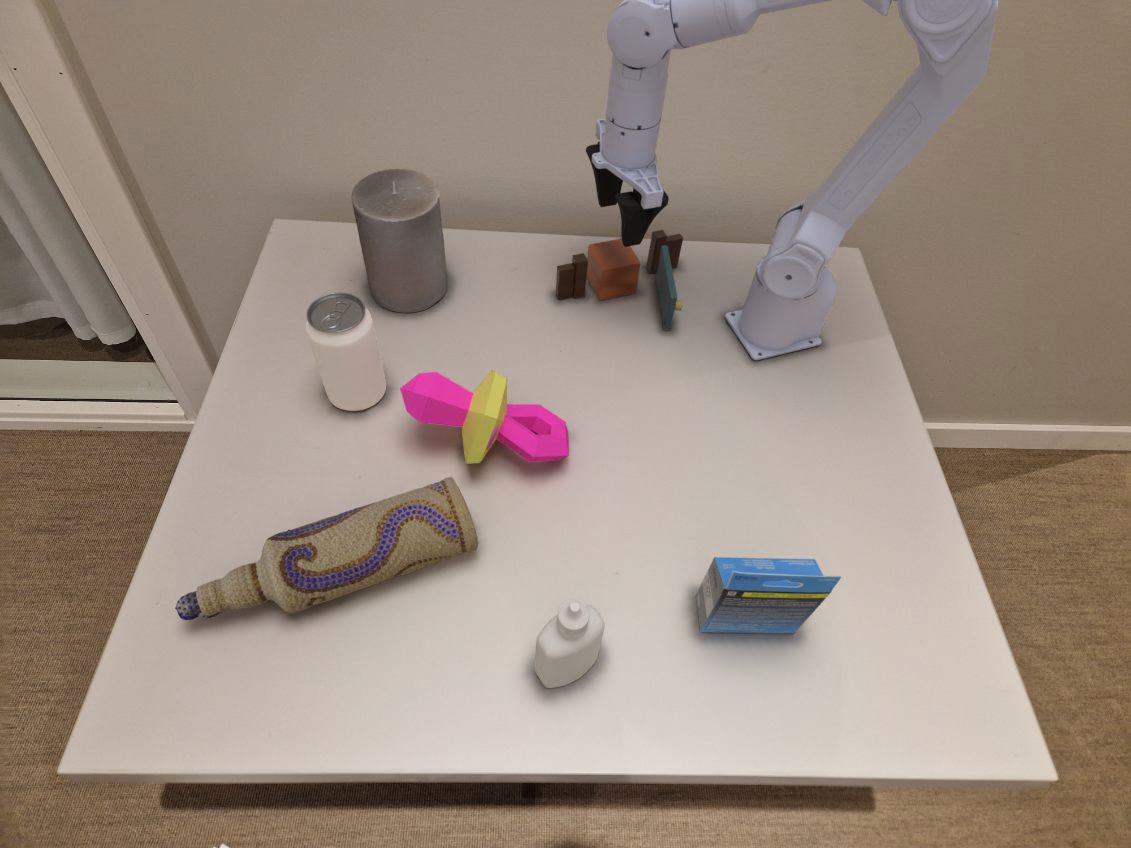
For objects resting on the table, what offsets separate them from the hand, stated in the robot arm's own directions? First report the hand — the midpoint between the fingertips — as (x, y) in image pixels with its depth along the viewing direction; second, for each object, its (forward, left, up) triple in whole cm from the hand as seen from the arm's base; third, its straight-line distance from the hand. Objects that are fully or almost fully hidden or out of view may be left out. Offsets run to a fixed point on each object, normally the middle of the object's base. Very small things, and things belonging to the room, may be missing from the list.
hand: (619, 223), depth 86 cm
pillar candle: (+25, -6, -10) cm, 27 cm away
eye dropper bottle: (+22, +44, -10) cm, 50 cm away
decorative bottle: (+38, +29, -10) cm, 49 cm away
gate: (-1, 0, -9) cm, 9 cm away
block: (0, 0, -9) cm, 9 cm away
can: (+34, +8, -10) cm, 36 cm away
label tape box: (+5, +46, -10) cm, 47 cm away
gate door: (-5, +5, -9) cm, 12 cm away
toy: (+22, +20, -10) cm, 31 cm away
